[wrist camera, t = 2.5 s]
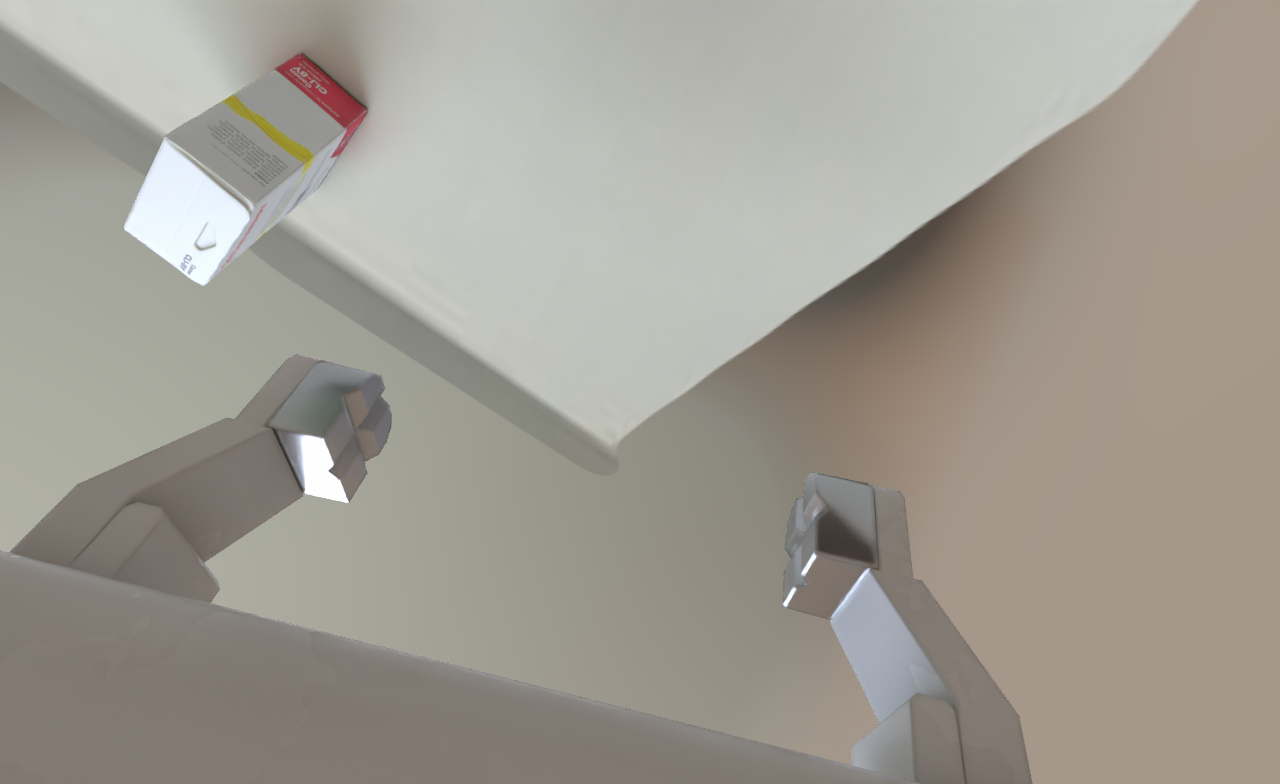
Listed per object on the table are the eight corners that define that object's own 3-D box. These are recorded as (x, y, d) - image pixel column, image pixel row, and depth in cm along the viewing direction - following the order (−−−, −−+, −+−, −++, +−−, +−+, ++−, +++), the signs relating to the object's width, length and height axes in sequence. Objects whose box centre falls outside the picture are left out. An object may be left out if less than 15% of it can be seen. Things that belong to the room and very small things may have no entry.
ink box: (300, 46, 38) (158, 132, 30) (372, 112, 40) (257, 208, 32) (249, 137, 43) (116, 232, 35) (315, 191, 45) (204, 292, 37)
